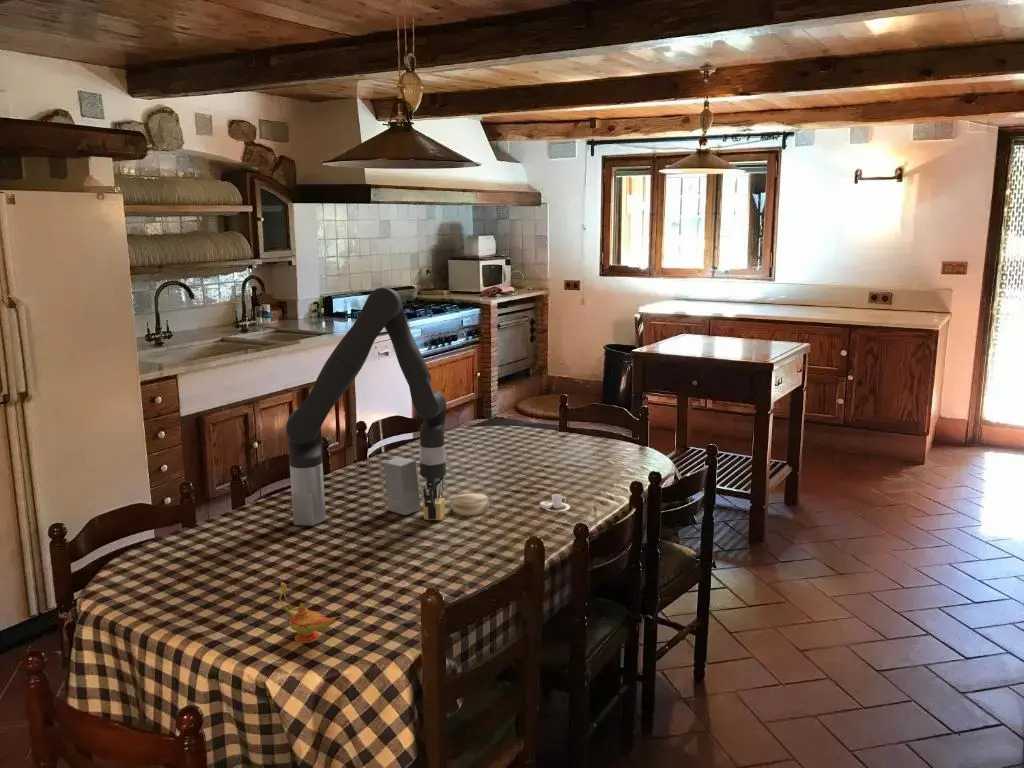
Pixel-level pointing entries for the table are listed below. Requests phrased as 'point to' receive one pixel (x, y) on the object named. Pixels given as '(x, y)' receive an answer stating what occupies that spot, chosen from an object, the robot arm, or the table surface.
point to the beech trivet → (470, 504)
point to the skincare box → (401, 485)
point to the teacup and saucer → (555, 503)
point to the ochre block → (439, 509)
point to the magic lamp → (307, 621)
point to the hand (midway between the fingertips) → (434, 515)
